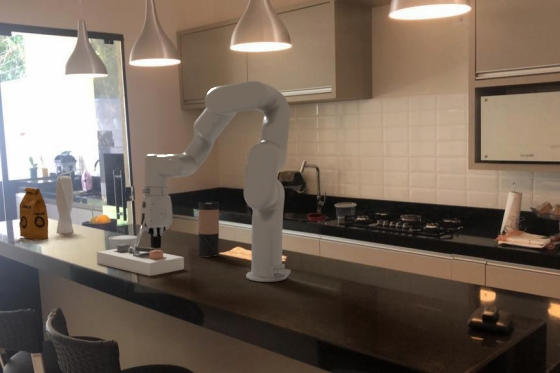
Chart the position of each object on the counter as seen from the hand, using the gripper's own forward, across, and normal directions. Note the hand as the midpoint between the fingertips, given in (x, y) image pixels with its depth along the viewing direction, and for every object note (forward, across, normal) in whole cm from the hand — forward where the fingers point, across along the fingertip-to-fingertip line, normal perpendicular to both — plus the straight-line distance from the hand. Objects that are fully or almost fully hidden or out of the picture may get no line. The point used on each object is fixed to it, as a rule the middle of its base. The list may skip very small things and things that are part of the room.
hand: (155, 247), depth 188 cm
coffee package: (+8, +5, +90) cm, 90 cm away
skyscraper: (+8, +23, +96) cm, 99 cm away
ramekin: (+8, +14, +38) cm, 41 cm away
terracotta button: (+4, 0, 0) cm, 4 cm away
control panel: (+8, 0, +9) cm, 12 cm away
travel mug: (+8, +29, +6) cm, 31 cm away
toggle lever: (+3, 0, +12) cm, 12 cm away
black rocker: (+1, 0, +6) cm, 6 cm away
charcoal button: (+4, 0, +18) cm, 18 cm away
